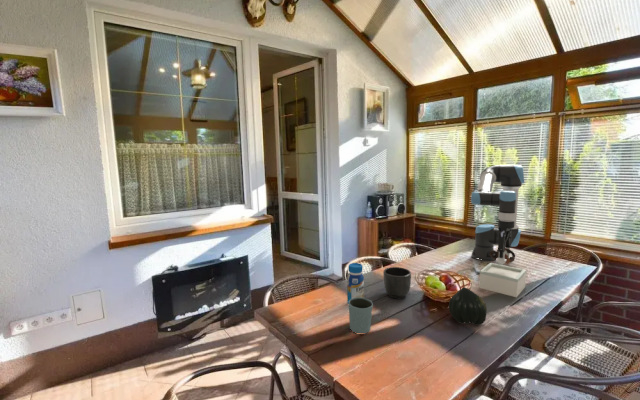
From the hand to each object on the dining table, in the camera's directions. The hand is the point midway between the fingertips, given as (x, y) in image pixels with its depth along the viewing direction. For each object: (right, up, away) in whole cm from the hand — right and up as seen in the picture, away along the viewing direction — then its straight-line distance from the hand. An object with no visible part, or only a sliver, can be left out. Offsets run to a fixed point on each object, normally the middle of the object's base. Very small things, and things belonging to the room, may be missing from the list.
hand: (503, 261), depth 172 cm
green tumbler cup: (-82, -22, -37) cm, 93 cm away
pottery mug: (-1, 0, 0) cm, 1 cm away
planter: (-59, -17, -5) cm, 62 cm away
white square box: (0, -15, +2) cm, 15 cm away
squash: (-35, -20, -32) cm, 51 cm away
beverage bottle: (-81, -19, -14) cm, 85 cm away
